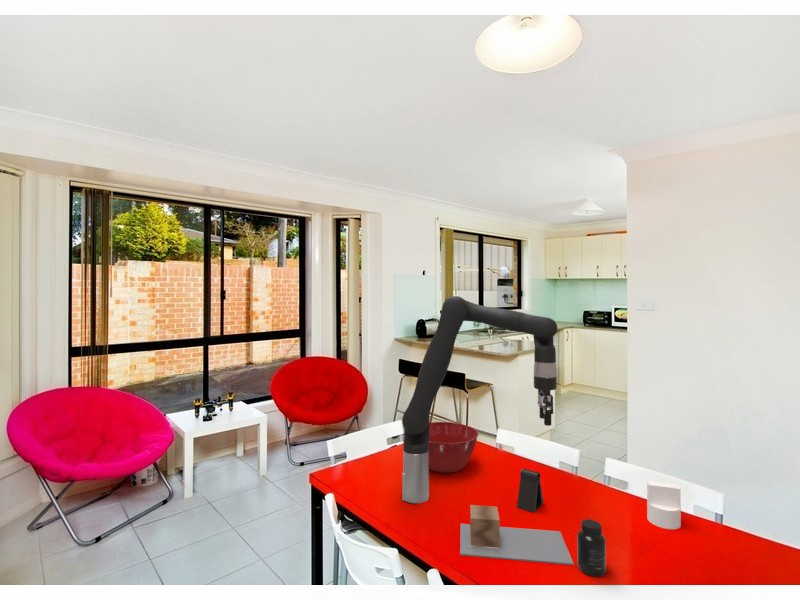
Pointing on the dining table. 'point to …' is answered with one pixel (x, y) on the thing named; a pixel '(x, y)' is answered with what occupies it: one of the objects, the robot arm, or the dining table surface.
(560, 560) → the rubber mat
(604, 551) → the supplement bottle
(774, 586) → the dining table surface
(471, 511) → the walnut block
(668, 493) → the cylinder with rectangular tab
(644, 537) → the dining table surface
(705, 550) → the dining table surface
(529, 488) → the black coffee bag
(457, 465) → the mixing bowl
